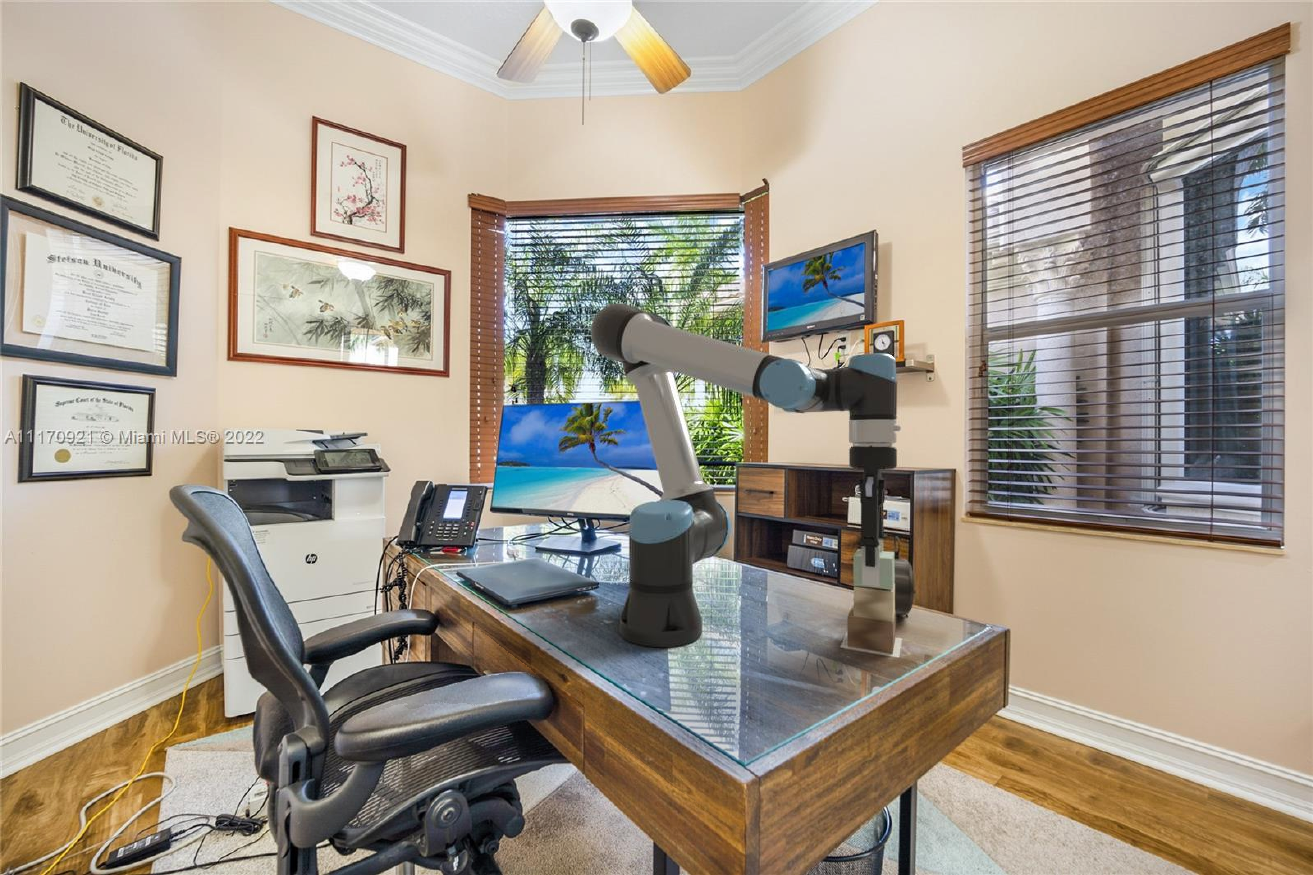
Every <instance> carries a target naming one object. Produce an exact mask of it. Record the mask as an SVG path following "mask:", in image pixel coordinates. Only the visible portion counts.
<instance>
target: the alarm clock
mask: <svg viewBox="0 0 1313 875" xmlns="http://www.w3.org/2000/svg"><path fill="white" fill-rule="evenodd" d="M896 541H897V544H898V548H897V544H896ZM893 544H894V545H893V546H894V551H893V552H894V570H895V582H894V583H895V611H896V624H898V616H900V617H901V616H903V617H904V616H905V617H906V618H909V615H908V614H909V613H910V612H911V610H912V607H913V604H914V597H915V594H916V590H915V577H914V572H913V569H912V565H911V563H910V562H909V561H908V560H907V559H905V558H903V557H902V558H901V557H900V556H899V555H900V551H901V542H900V538H899V537H898V536H894V538H893Z"/></svg>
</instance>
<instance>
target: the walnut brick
mask: <svg viewBox="0 0 1313 875" xmlns="http://www.w3.org/2000/svg"><path fill="white" fill-rule="evenodd" d="M896 626H897V623H896V611H895V614H894V619H893V623H892V622H886V621H879V620H872V619H866V618H859V617H854V604H853V605H852V606H851V608H850V610H849V612H848V615H847V630H846V633H847V646H850V647H855V648H861V649H867V650H872V651H878V652H884V653H889V654H893V650H894V645H895V637H896Z"/></svg>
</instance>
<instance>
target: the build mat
mask: <svg viewBox="0 0 1313 875" xmlns="http://www.w3.org/2000/svg"><path fill="white" fill-rule="evenodd" d="M902 641H903V638H902V637H896V636H895V645H894V650H893V654H889V653H884V652H878V651H872V650H867V649H861V648H855V647H850V646H847V632H846V633H845V636H844V638H843V640H842V642H841V645H840V648H842V649H847V650H851V651H859V652H863V653H870V654H876V655H881V656H886V657H891V658H892V657H893V658H897V659H898V658H900V654H901V649H902Z"/></svg>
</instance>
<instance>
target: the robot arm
mask: <svg viewBox="0 0 1313 875" xmlns="http://www.w3.org/2000/svg"><path fill="white" fill-rule="evenodd" d="M590 336H591V337H590V338H591V341H592V344H593V346H594V348H595V350H597V352H598V353H599V354H600V355H602V356H603V357H604V358H606V359H608V360H610V361H614V362H618V363H621V365H622V368H623V371H624V376H625V379H626V380H627V382H629V383H631V384H632V385H634V386H635V389H636V393H637V397H638V401H639V405H640V408H641V413H642V415H643V419H644V423H645V426H646V428H645V429H646V432H647V434H648V439H649V442H650V447H651V450H652V454H653V458H654V460H655V465H656V468H657V472H658V476H659V480H660V484H661V487H662V490H663V493H662V495H661V498H660V499H659V500H656V501H648V502H644V503H641V504H638V505H637V506H636V507H634V508H633V509H632V511H631V513H630V515H629V526H628V531H627V532H628V538H629V540H628V546H629V548H628V552H629V553H628V555H629V556H628V558H629V561H628V562H629V563H628V564H629V566H628V567H629V568H628V570H629V571H628V572H629V574H628V575H629V580H628V582H629V584H628V587H629V588H628V592H627V596H626V599H625V602H624V605H623V609H622V611H621V615H620V617H619V635H620V636H621V637H622V639H624V640H626V641H628V642H630V643H632V644H636V645H639V646H644V647H651V648H670V647H680V646H684V645H687V644H688V645H689V644H691V643H693V642H695V641H697V640H698V639H699V638H701V637H702V635H703V619H702V616H701V613H700V612H701V611H700V610H699V606H698V602H697V600H696V597H695V596H696V595H695V594H694V590H693V589H694V588H693V587H694V586H693V583H694V581H693V576H694V575H693V573H694V570H693V569H694V568H693V565H694V564H696V563H697V562H700V561H702V560H705V559H710V558H711V557H713V556H715V555H716V554H718V553H719V552H720V551H721V550H723V548H725V546H726V545H727V543H728V541H729V539H730V537H731V534H732V520H731V517H730V514H729V512H728V510H727V509H726V508H725V506H724V505H723V504H721V503H720V502H718V501H717V499H716V495H715V491H714V488H713V487H712V486H711V485H709V484H707V483H706V482H705V481H704V478H703V476H702V471H701V467H700V465H699V461H698V457H697V454H696V450H695V447H694V443H693V440H692V437H691V436H692V435H691V433H690V430H689V429H690V428H689V425H688V423H687V418H686V414H685V412H684V408H683V404H682V401H681V396H680V394H679V390H678V387H677V386H678V385H677V383H676V379H675V376H674V375H675V373H678V374H681V375H684V376H688V377H690V378H694V379H696V380H699V381H702V382H706V383H708V384H712V385H715V386H717V387H721V388H723V389H724V388H725V389H728V390H731V391H734V392H737V393H739V394H742V395H744V396H745V395H746V396H749V397H751V398H754V399H758V400H760V401H763V402H766V403H769V404H771V405H772V406H774V407H776V408H780V409H782V410H783V411H784V412H786V413H797V414H805V413H821V412H822V413H823V412H824V413H827V412H848V414H849V418H848V419H849V420H848V442H849V443H850V444H852V446H850V447H849V451H848V452H849V453H848V454H849V455H848V456H849V458H848V459H849V467H850V468H852V469H861V470H862V469H863V478H861V479H859V480H858V481H859V482H858V487H859V489H860V498H859V500H860V501H859V502H860V539H859V541H856V546H858V547H859V546H860V547H861V550H862V585H868V586H876V587H880V551H884V539H888V533H884V532H885V528H884V503H885V501H886V500H885V499H886V497H885V496H886V495H885V494H886V493H885V491H886V487H887V479H886V478H882V470H893V469H896V468H897V466H898V464H897V462H898V461H897V460H898V458H897V457H898V455H897V453H898V450H897V448H896V446H893V444H896V443H897V433H896V432H900V431H901V429H902V428H901V425H898V424H897V419H898V418H897V417H898V416H897V413H898V412H897V411H898V409H897V405H898V380H897V377H898V376H897V364H896V358H895V357H894V356H892V355H891V354H889V353H881V352H879V353H878V352H876V353H875V352H873V353H871V352H870V353H863V354H855V355H854V356H853V355H852V356H851V357H850V358H849V362H848V364H847V367H843V368H838V369H834V368H833V369H817V368H814V367H811V366H809V365H806V364H805V363H803V362H802V361H798V360H796V359H792V358H783V357H779V356H777V355H772V354H769V353H767V352H762V351H759V350H755V349H751V348H749V347H746V346H741V345H738V344H735V343H731V342H727V341H724V340H719V339H716V338H712V337H709V336H707V335H701V334H698V333H695V332H692V331H688V330H685V329H681V328H677V327H675V326H674V325H673V324H672V323H671V322H670V321H669V320H667V319H665V318H664V317H662V316H661V315H659V314H656V313H653V312H647V311H646V310H642V309H639V308H638V307H634V306H632V305H630V304H627V303H619V302H618V303H612V304H609V305H606V306H605V307H603V308H601V309H600V310H599V311H598V312H597V314H596V315H595V316H594V319H593V321H592V323H591V328H590ZM896 424H897V425H896Z"/></svg>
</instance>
